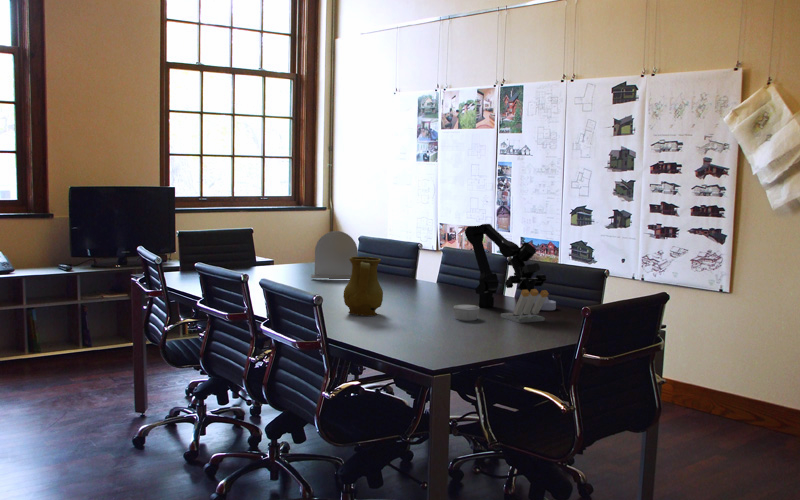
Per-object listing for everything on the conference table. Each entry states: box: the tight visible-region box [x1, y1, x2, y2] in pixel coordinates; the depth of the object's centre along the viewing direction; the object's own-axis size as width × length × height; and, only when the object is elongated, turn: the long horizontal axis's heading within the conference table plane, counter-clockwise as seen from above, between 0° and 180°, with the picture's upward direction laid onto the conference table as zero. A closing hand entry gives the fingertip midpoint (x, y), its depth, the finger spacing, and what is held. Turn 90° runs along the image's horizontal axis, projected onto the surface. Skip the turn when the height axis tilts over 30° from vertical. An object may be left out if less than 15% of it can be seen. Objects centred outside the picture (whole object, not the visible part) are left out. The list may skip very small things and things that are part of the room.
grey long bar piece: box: [522, 288, 540, 315], centre depth 319 cm, size 2×3×13 cm
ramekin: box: [453, 304, 481, 322], centre depth 322 cm, size 11×11×5 cm
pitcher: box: [343, 256, 384, 317], centre depth 326 cm, size 17×19×25 cm
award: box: [310, 230, 359, 279], centre depth 428 cm, size 28×9×28 cm, turn 97°
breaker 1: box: [513, 290, 530, 316], centre depth 317 cm, size 2×3×13 cm
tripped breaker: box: [530, 289, 550, 315], centre depth 321 cm, size 2×3×13 cm
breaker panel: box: [500, 311, 546, 324], centre depth 325 cm, size 14×13×2 cm
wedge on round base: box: [526, 293, 557, 311], centre depth 350 cm, size 9×7×13 cm
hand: (533, 296), depth 325 cm, fingers closed
